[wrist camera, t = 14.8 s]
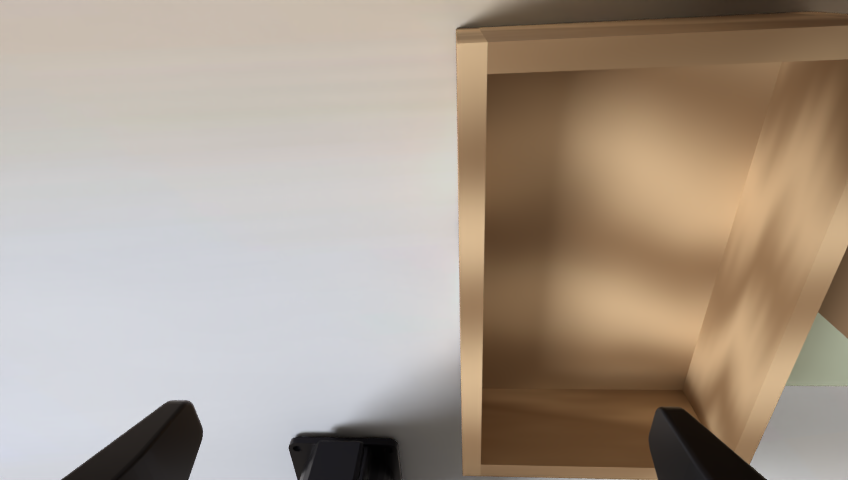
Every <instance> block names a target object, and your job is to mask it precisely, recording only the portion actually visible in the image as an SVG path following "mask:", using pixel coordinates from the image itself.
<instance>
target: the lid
mask: <svg viewBox="0 0 848 480" xmlns="http://www.w3.org/2000/svg"><path fill="white" fill-rule="evenodd" d="M785 386H848V246H847V249H846V251H845V253H844V255H843V257H842V260H841V262H840V264H839V266H838V269H837V271H836V273H835V275H834V278H833V280H832V282H831V284H830V286H829V289H828V291H827V293H826V295H825V298H824V300H823V302H822V304H821V306H820V309H819V311H818V313H817V315H816V318H815V320H814V322H813V324H812V327H811V329H810V331H809V333H808V335H807V338H806V340H805V342H804V344H803V347H802V349H801V351H800V353H799V355H798V358H797V360H796V362H795V364H794V367H793V369H792V371H791V373H790V376H789V378H788V380H787V382H786V384H785Z"/></svg>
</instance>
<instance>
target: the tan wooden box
mask: <svg viewBox="0 0 848 480" xmlns="http://www.w3.org/2000/svg"><path fill="white" fill-rule="evenodd" d="M456 61H457V134H458V206H459V279H460V352H461V415H462V469H463V476H497V477H544V478H591V479H637V480H658V478H657V474H656V471H655V467H654V463H653V460H652V456H651V452H650V449H649V441H648V438H649V432H650V429H651V425H652V422H653V418H654V415H655V411H656V409H657V408H658V407H661V406H672V407H681V408H683V409H685V410H686V411H687V412H688V413H690V414H691V415H692V416H693V417H694V418H695V419H697V420H698V421H699V422H700V423H701V424H702V425H704V426H705V427H706V428H707V429H708V430H709V431H711V432H712V433H713V434H714V435H715V436H716V437H718V438H719V439H720V440H721V441H722V442H723V443H725V444H726V445H727V446H728V447H729V448H730V449H732V450H733V451H734V452H735V453H736V454H737V455H739V456H740V457H741V458H742V459H743V460H744V461H746V462H747V463H748V464H749V465H750V462H751V460H752V458H753V456H754V453H755V451H756V449H757V447H758V445H759V442H760V440H761V438H762V436H763V433H764V431H765V429H766V427H767V424H768V422H769V420H770V418H771V416H772V413H773V411H774V409H775V407H776V404H777V402H778V400H779V398H780V396H781V393H782V391H783V389H784V387H785V384H786V382H787V380H788V378H789V376H790V373H791V371H792V369H793V367H794V364H795V362H796V360H797V358H798V355H799V353H800V351H801V349H802V347H803V344H804V342H805V340H806V338H807V335H808V333H809V331H810V329H811V327H812V324H813V322H814V320H815V318H816V315H817V313H818V311H819V309H820V306H821V304H822V302H823V300H824V298H825V295H826V293H827V291H828V289H829V286H830V284H831V282H832V280H833V278H834V275H835V273H836V271H837V269H838V266H839V264H840V262H841V260H842V257H843V255H844V253H845V251H846V249H847V246H848V14H841V13H826V12H812V11H808V12H788V13H767V14H747V15H726V16H706V17H685V18H664V19H644V20H623V21H603V22H582V23H562V24H541V25H520V26H500V27H479V28H459V29H456Z"/></svg>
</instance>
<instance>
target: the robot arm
mask: <svg viewBox="0 0 848 480" xmlns="http://www.w3.org/2000/svg"><path fill="white" fill-rule="evenodd" d="M202 437H203V429H202V425H201V423H200V420H199V418H198V415H197V413H196V410H195V408H194V405H193V404H192V403H191V402H190V401H187V400H172V401H168V402H166V403H165V404H163V405H162V406H161V407H159V408H158V409H157V410H155V411H154V412H152V413H151V414H150V415H148V416H147V417H146V418H144V419H143V420H142V421H140V422H139V423H138V424H136V425H135V426H133V427H132V428H131V429H129V430H128V431H127V432H125V433H124V434H123V435H121V436H120V437H119V438H117V439H116V440H114V441H113V442H112V443H110V444H109V445H108V446H106V447H105V448H104V449H102V450H101V451H100V452H98V453H97V454H95V455H94V456H93V457H91V458H90V459H89V460H87V461H86V462H85V463H83V464H82V465H81V466H79V467H78V468H76V469H75V470H74V471H72V472H71V473H70V474H68V475H67V476H66V477H64V478H63V479H62V480H188V479H189V476H190V473H191V470H192V468H193V465H194V462H195V459H196V456H197V453H198V450H199V447H200V444H201V441H202ZM648 441H649V449H650V452H651V456H652V460H653V463H654V467H655V471H656V474H657V478H658V480H767V479H765V478H764V477H763V476H762V475H761V474H760V473H758V472H757V471H756V470H755V469H754V468H753V467H751V466H750V465H749V464H748V463H747V462H746V461H744V460H743V459H742V458H741V457H740V456H739V455H737V454H736V453H735V452H734V451H733V450H732V449H730V448H729V447H728V446H727V445H726V444H725V443H723V442H722V441H721V440H720V439H719V438H718V437H716V436H715V435H714V434H713V433H712V432H711V431H709V430H708V429H707V428H706V427H705V426H704V425H702V424H701V423H700V422H699V421H698V420H697V419H695V418H694V417H693V416H692V415H691V414H690V413H688V412H687V411H686V410H685V409H683V408H681V407H672V406H661V407H658V408H657V409H656V411H655V415H654V418H653V422H652V425H651V429H650V432H649V438H648ZM289 451H290V455H291V458H292V462H293V465H294V469H295V472H296V476H297V479H298V480H402V474H401V465H400V456H399V447H398V443H397V442H396V441H395V440H393V439H375V438H312V437H296V438H293V439H292V440H291V442H290V444H289Z"/></svg>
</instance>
